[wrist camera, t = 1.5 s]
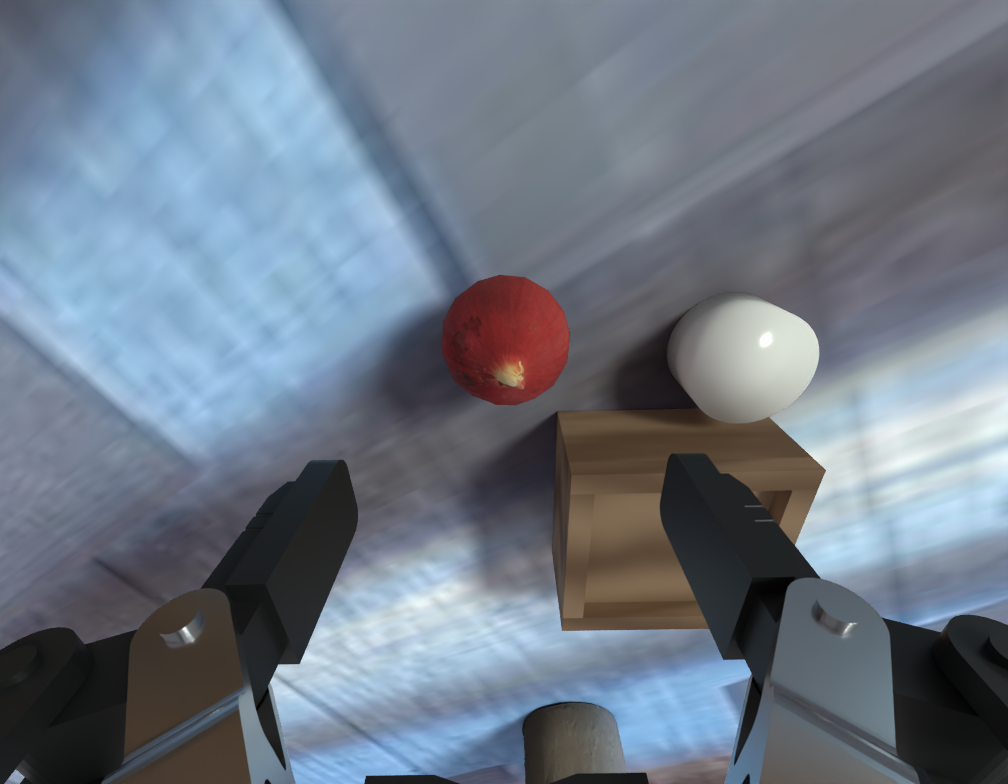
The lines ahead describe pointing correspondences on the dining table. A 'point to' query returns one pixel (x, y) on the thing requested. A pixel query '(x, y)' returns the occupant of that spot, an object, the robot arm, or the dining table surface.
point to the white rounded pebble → (742, 357)
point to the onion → (505, 340)
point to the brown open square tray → (653, 508)
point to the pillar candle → (571, 742)
